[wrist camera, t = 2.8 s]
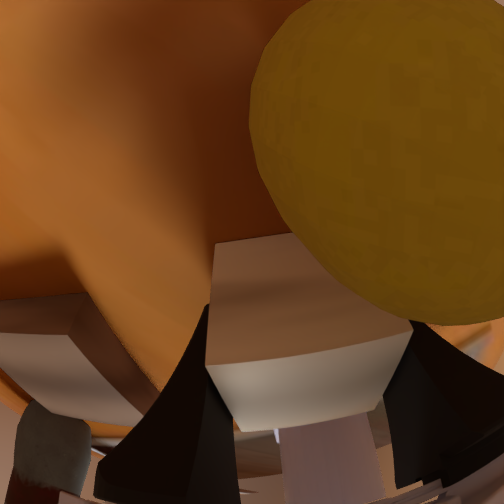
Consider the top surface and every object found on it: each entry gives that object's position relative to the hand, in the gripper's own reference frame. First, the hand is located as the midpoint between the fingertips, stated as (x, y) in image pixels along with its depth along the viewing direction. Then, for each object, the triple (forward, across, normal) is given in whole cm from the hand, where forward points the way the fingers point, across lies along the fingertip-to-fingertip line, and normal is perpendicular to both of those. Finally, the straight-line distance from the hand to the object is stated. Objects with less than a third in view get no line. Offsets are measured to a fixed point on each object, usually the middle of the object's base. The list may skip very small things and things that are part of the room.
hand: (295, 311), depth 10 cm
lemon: (+2, -2, -7) cm, 7 cm away
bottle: (+2, +26, +17) cm, 31 cm away
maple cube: (+1, 0, 0) cm, 1 cm away
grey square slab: (+2, +14, +4) cm, 15 cm away
